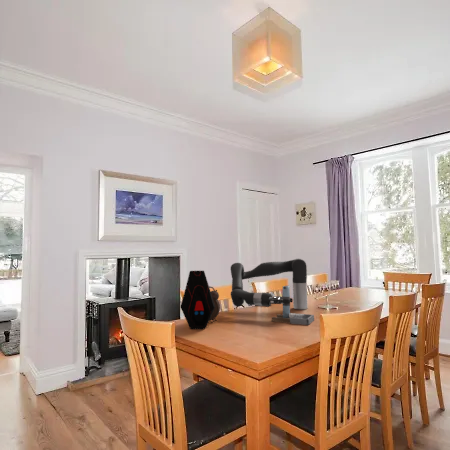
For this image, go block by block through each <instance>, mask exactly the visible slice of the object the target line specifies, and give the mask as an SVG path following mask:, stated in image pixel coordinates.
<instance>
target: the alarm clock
mask: <svg viewBox="0 0 450 450" xmlns="http://www.w3.org/2000/svg"><path fill="white" fill-rule="evenodd" d="M209 288H210V289H212V290H210V291H211V295H212V298H213V301H214V304H215V309H214V311H213V313H212V315H211V317H210V320H209V322H210V321H213V323H215V322H217V316H219V313H220V310H221V304H220V301H219V297H220V295H219V292H218V290H217V289H215V288H214V286H210V285H209Z"/></svg>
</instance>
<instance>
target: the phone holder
mask: <svg viewBox="0 0 450 450" xmlns="http://www.w3.org/2000/svg"><path fill="white" fill-rule="evenodd" d="M269 293H271V295H272V297H274V296H276V295H275V294H274V293H275V292H272V291H270V292H269ZM247 305H248V307H252V306H253V305H251V304H247ZM265 307H267V308H269V307H270V306H265Z"/></svg>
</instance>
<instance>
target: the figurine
mask: <svg viewBox="0 0 450 450" xmlns="http://www.w3.org/2000/svg"><path fill="white" fill-rule="evenodd" d="M205 272H206V271H205V270H190V271H189V273H188V278H187V281H186V284H185V285H186V286H185V289H184V293H183V297H182V298H181V303H180V310H181V311H182V314H183V316H184V318H185V320H186V323H187V325H188V327H189V330H205V329H206V328H207V326H208V324H209V322H210V321H211V320H210V317H211V315H212V313H213V311H214V309H215V304H214V301H213V298H212V295H211V291H212V290H211V288H210V287H209V286H210V285H209V282H208V279H207V276H206V273H205ZM209 320H210V321H209Z"/></svg>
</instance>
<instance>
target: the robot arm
mask: <svg viewBox="0 0 450 450" xmlns="http://www.w3.org/2000/svg"><path fill="white" fill-rule="evenodd" d="M307 267H308V266H307V263H306V261H305V260H303V259H302V258H295V259H291V260H287V261H286V260H285V261H267V262H262V263H260V264H258V265H257V266H255V267H254V268H253V269H252V270H251V269H250V270H248V271H245V268H244V265H243V264H242V262H241V263H240V262H235V263H232V264H231V265H230V275H231V278H232V279H231V292H230V298H231V302H232V304H233V305H234V306H235V307H238V308H239V307H242V306H243V305H244V302H245V303H246V304H247V305H248V304H251V305H252V306H259V307H260V306H261V307H266V306H269V307H271V306H272V305H283V303H286V304H290V305H291V303H293V304H292V305H293V309H294V310H307V309H308V288H307V286H308V284H307V279H308V276H307V275H308V274H307V272H308V270H307ZM283 273H292V297H290V300H289V299H283V297H282V296H279V295H278V296H277V295H275V296H273V297H272V295H271V293H270V292H249V291H246V290H244V285H243V280H246V279H253V278H260V277H270V276H275V275H280V274H283Z"/></svg>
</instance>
